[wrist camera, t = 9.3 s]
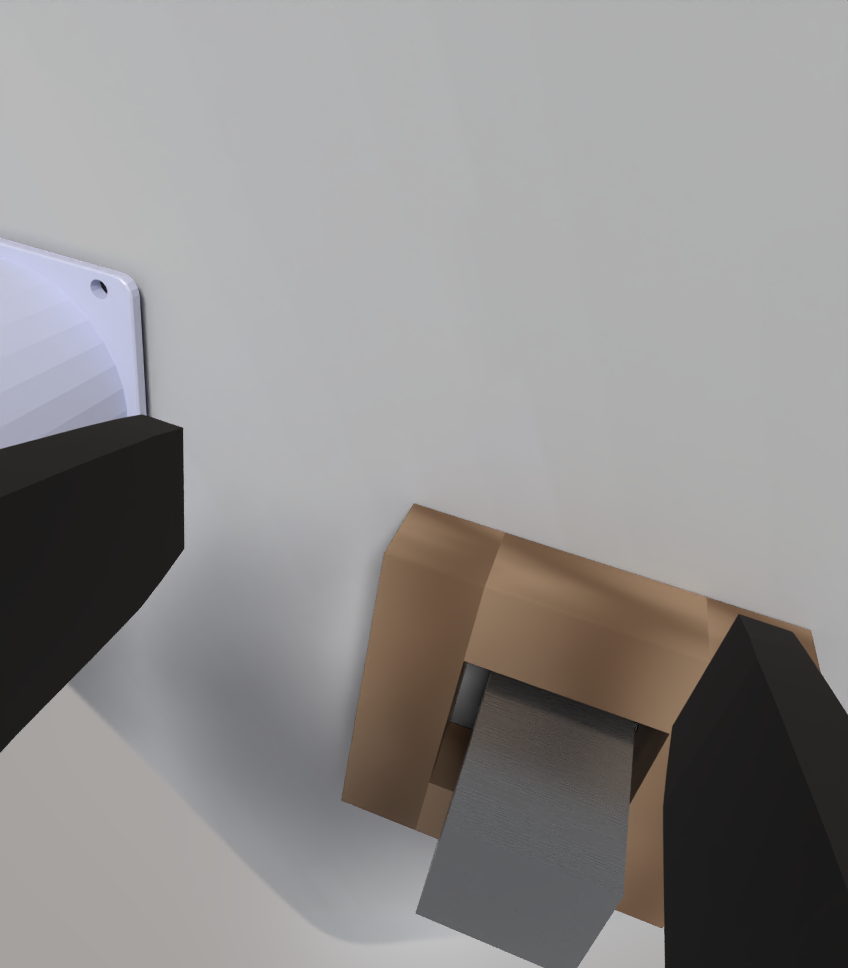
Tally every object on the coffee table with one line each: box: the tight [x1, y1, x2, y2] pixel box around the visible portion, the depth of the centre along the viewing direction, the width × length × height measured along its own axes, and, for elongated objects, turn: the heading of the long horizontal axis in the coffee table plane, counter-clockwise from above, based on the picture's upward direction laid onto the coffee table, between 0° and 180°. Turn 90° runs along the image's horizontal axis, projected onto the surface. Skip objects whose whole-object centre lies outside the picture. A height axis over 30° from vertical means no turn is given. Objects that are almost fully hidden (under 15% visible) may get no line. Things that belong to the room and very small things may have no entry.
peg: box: [416, 671, 635, 968], centre depth 19 cm, size 4×4×7 cm
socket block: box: [341, 504, 821, 928], centre depth 21 cm, size 11×11×2 cm
